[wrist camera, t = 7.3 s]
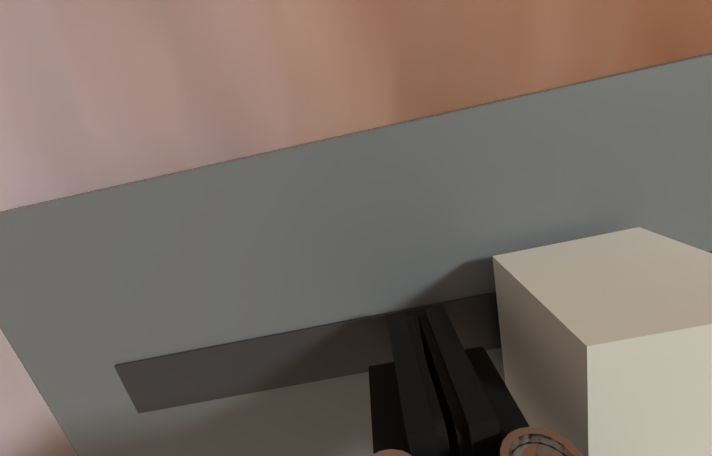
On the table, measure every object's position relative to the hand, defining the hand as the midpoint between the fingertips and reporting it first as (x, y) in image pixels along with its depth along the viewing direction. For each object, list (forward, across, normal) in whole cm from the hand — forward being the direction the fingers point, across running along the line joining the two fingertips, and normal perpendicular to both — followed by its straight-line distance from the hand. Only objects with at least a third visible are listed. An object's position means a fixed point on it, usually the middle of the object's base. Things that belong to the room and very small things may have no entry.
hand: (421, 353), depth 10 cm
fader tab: (+1, -5, 0) cm, 5 cm away
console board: (+3, -4, 0) cm, 5 cm away
